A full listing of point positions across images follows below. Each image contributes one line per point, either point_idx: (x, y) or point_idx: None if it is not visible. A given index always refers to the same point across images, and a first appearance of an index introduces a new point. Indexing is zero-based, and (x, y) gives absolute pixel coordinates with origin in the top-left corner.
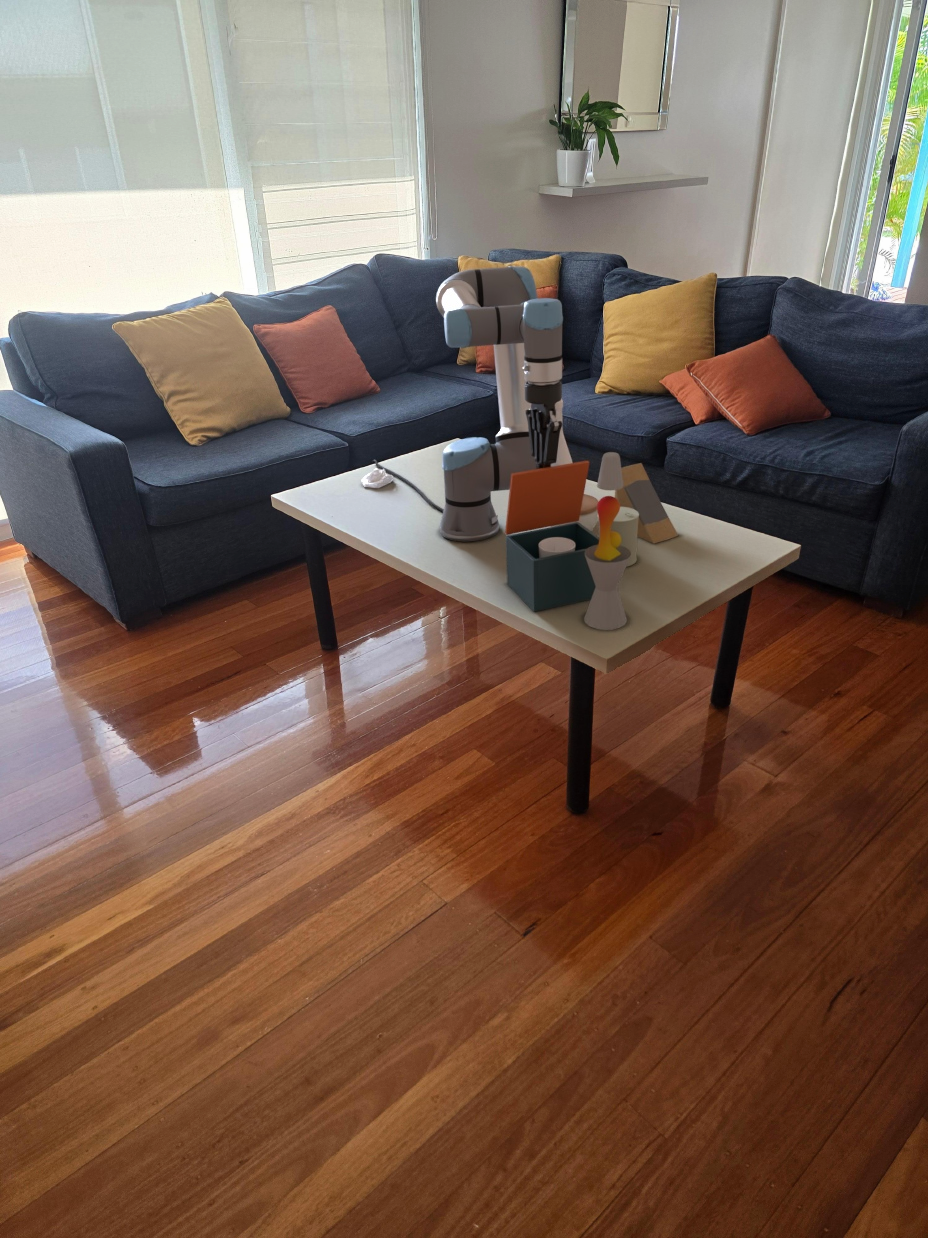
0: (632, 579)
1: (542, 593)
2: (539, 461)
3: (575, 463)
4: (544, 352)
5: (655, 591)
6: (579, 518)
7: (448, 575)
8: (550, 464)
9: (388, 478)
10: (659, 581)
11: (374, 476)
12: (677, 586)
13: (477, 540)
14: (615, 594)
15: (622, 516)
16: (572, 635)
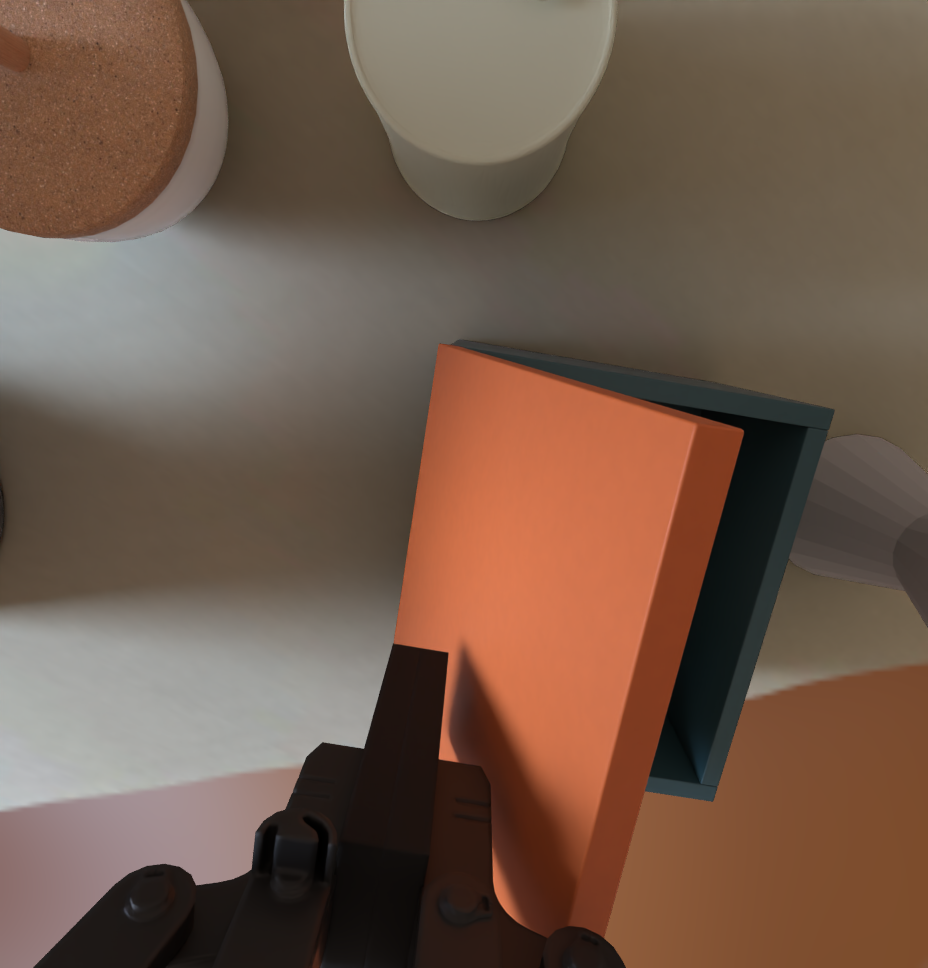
0: (674, 204)
1: None
2: (325, 950)
3: (665, 637)
4: None
5: (818, 198)
6: (199, 136)
7: (238, 745)
8: (504, 911)
9: None
10: (764, 114)
11: None
12: (851, 80)
13: (1, 524)
14: None
15: (531, 25)
16: (846, 652)
